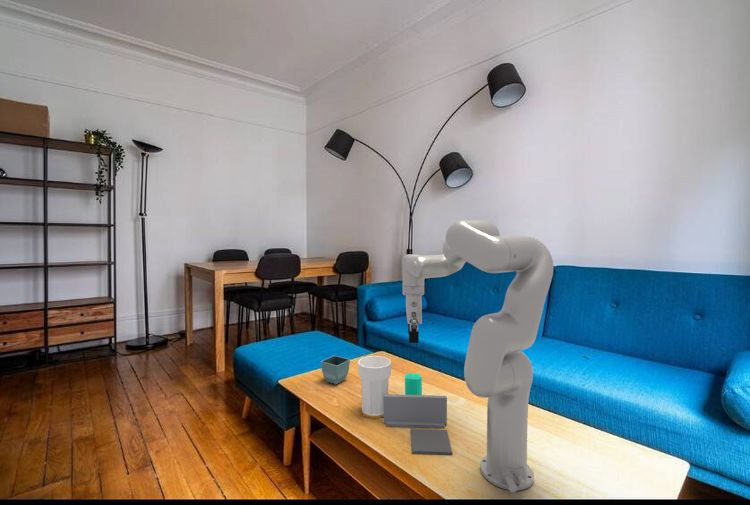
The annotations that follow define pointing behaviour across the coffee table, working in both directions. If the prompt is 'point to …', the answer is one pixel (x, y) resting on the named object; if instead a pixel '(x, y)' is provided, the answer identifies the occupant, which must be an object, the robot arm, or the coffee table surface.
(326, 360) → the flower pot
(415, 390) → the candle
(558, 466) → the coffee table surface
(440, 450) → the mat
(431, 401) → the board
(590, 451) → the coffee table surface
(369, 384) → the cup
